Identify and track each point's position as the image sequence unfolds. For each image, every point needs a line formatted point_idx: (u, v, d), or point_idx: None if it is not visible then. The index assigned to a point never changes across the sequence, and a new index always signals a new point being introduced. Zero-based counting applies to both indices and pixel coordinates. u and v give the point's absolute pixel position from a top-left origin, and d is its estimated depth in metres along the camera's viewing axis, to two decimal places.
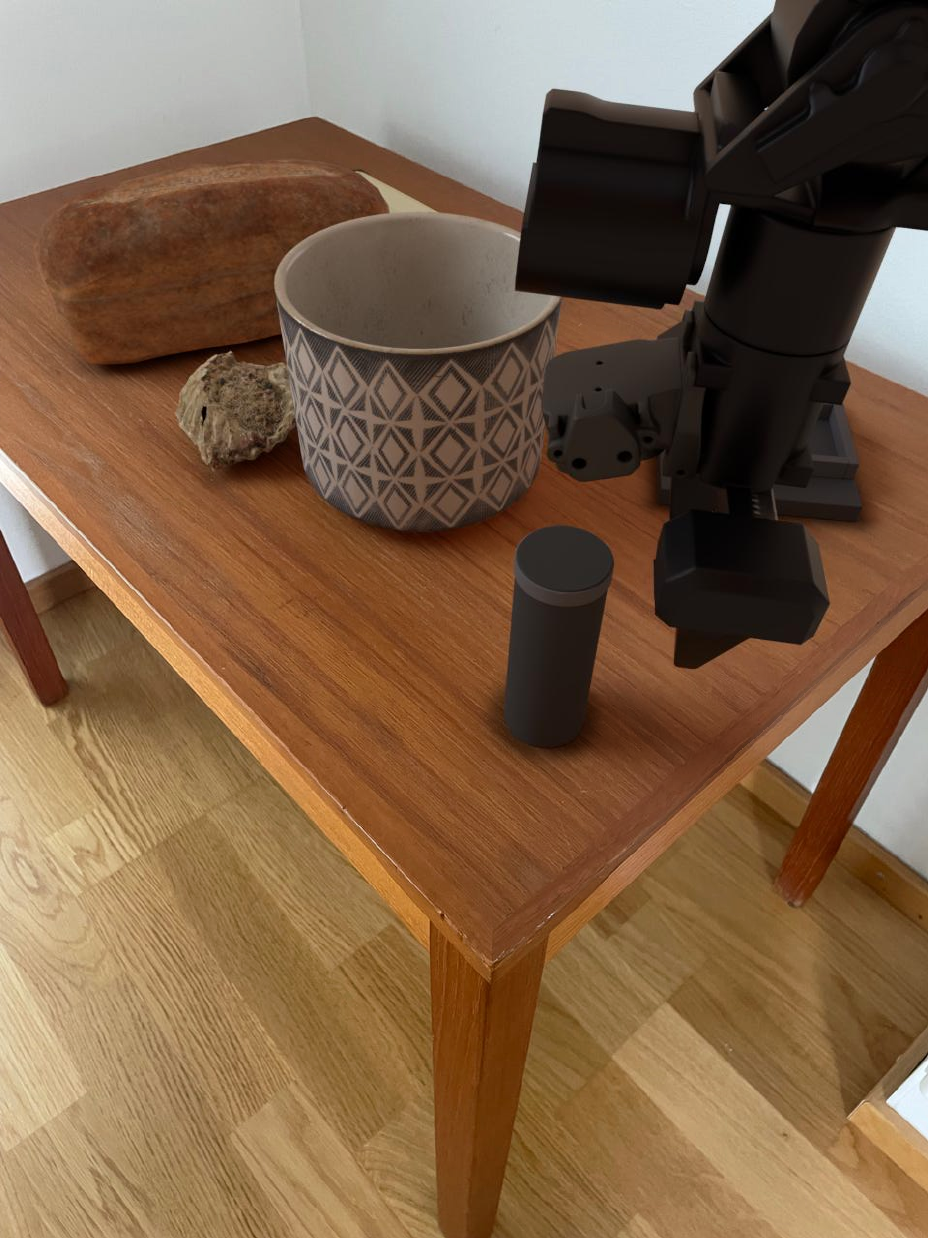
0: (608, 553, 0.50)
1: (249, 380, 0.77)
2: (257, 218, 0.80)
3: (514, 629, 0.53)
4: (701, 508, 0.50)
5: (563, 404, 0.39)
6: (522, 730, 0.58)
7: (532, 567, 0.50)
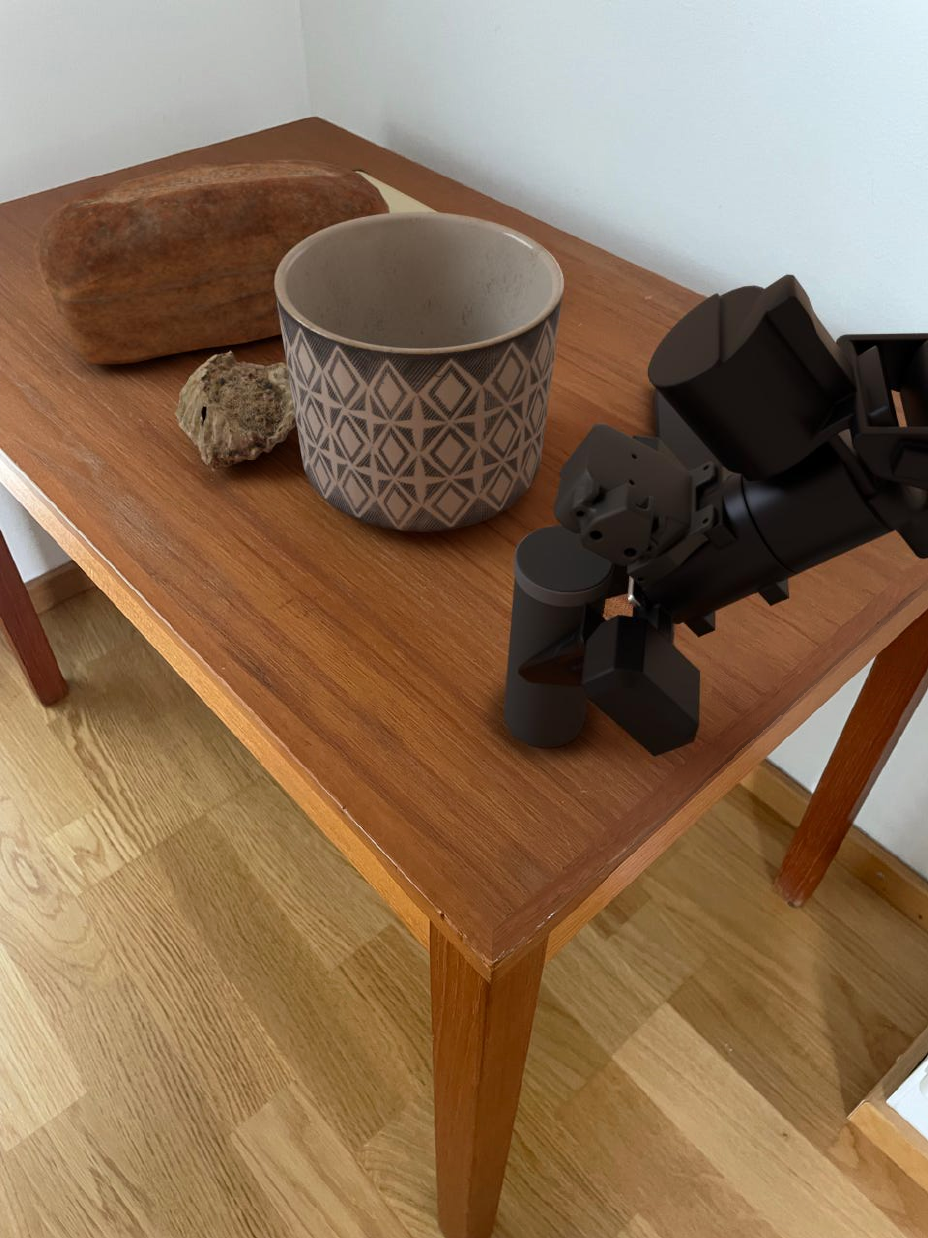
0: None
1: (249, 380, 0.77)
2: (257, 218, 0.80)
3: (514, 629, 0.53)
4: None
5: (604, 477, 0.44)
6: (522, 730, 0.58)
7: (532, 567, 0.50)
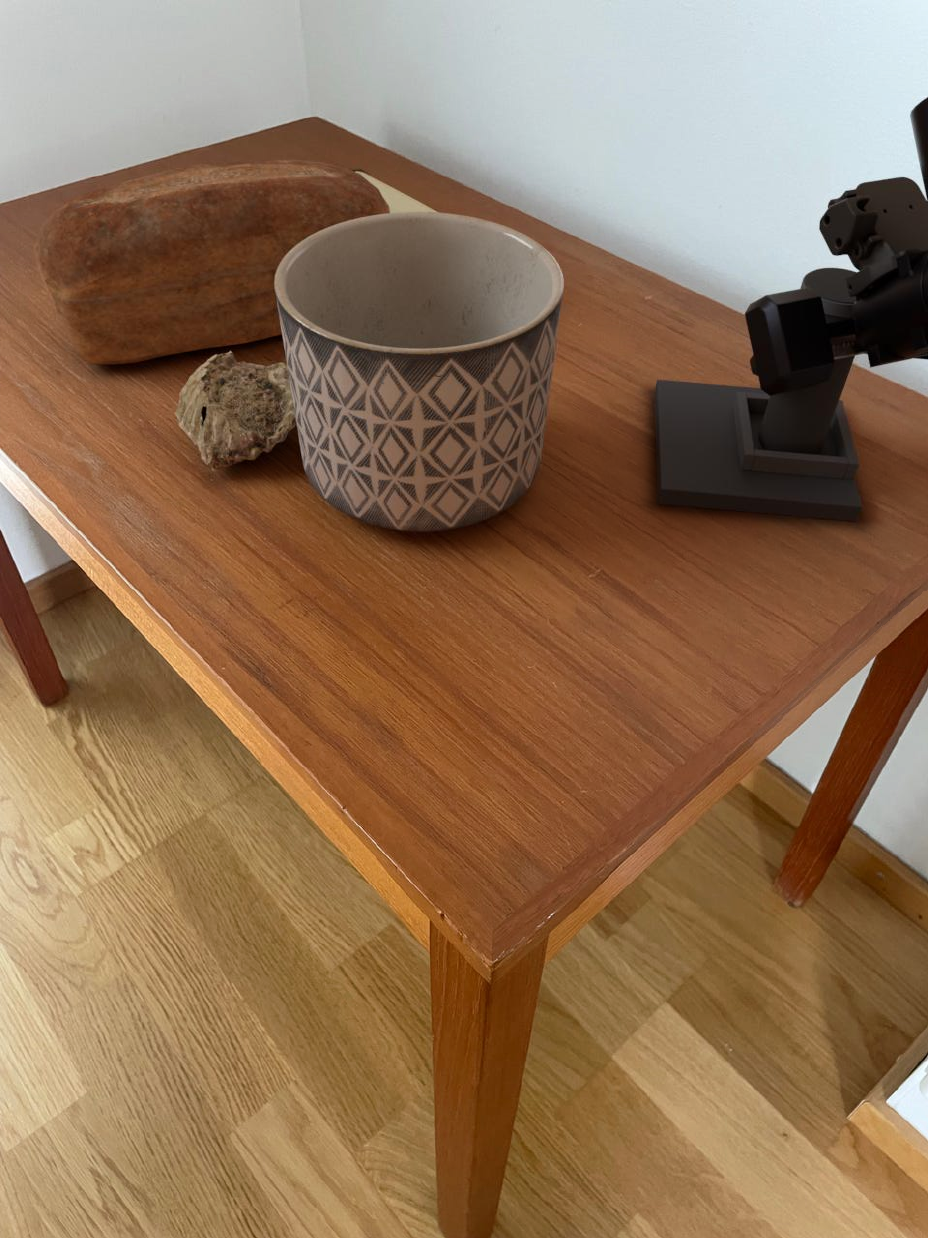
0: None
1: (249, 379, 0.77)
2: (257, 218, 0.80)
3: None
4: None
5: (867, 194, 0.61)
6: (761, 428, 0.77)
7: (814, 276, 0.68)
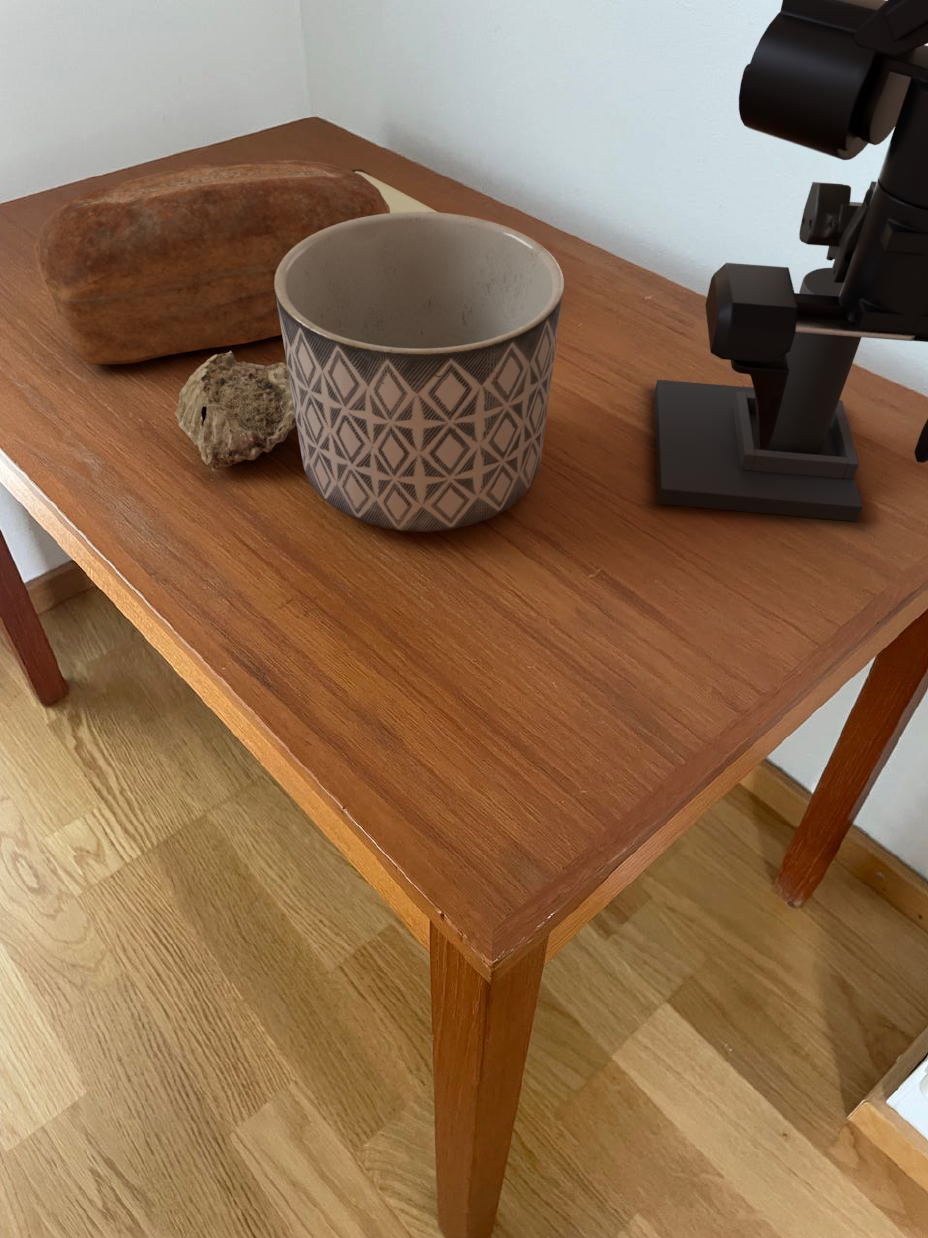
0: None
1: (249, 379, 0.77)
2: (257, 219, 0.80)
3: None
4: None
5: (851, 202, 0.55)
6: None
7: (814, 276, 0.68)
